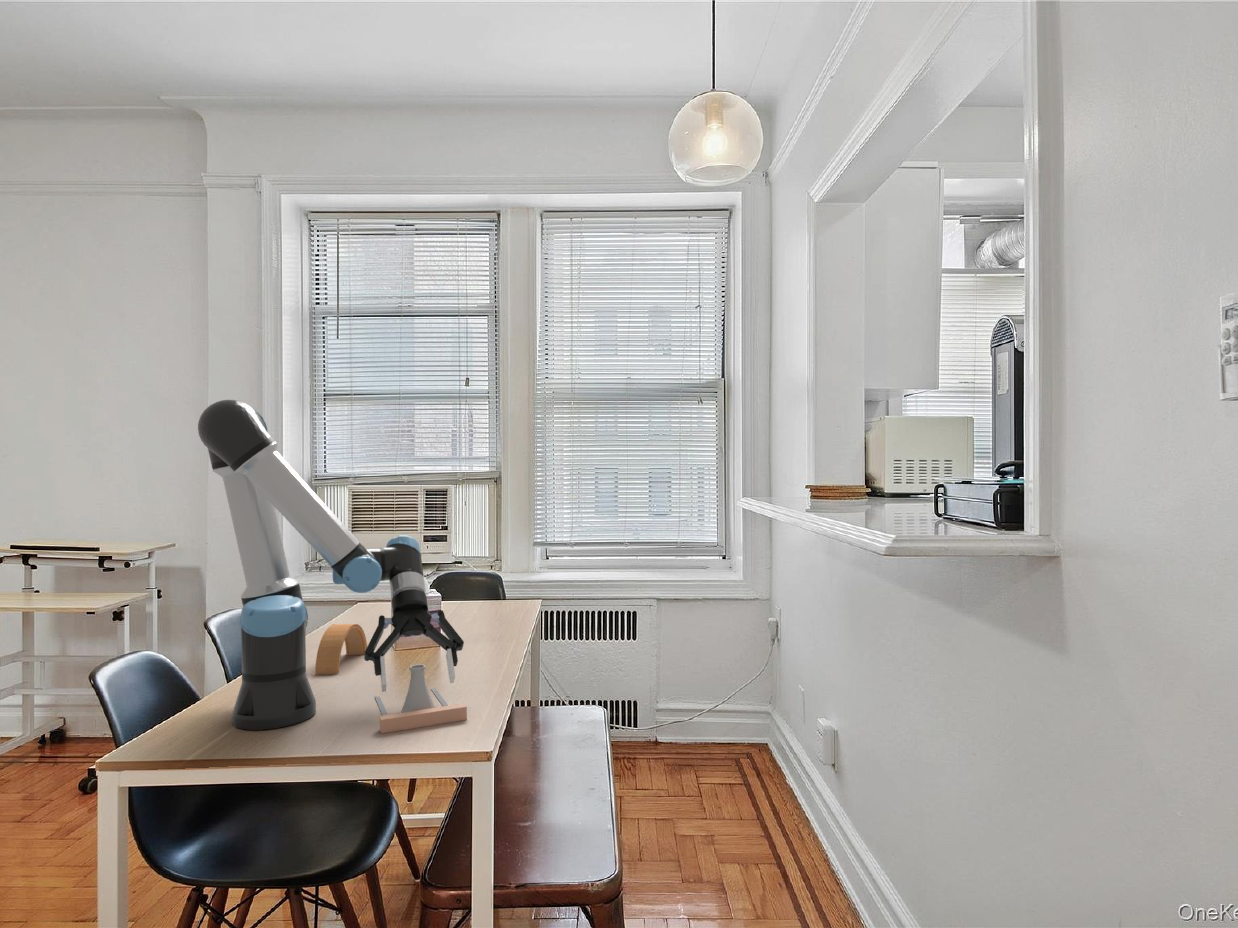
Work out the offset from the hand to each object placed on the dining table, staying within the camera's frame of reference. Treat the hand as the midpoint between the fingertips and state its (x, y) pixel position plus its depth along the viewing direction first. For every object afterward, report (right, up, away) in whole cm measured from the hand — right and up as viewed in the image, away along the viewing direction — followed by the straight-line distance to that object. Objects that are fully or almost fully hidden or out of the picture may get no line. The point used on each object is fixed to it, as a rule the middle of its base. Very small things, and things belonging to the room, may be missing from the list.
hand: (419, 684), depth 149 cm
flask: (+1, -5, -4) cm, 7 cm away
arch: (-30, -7, +39) cm, 49 cm away
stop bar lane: (-1, -5, +2) cm, 6 cm away
